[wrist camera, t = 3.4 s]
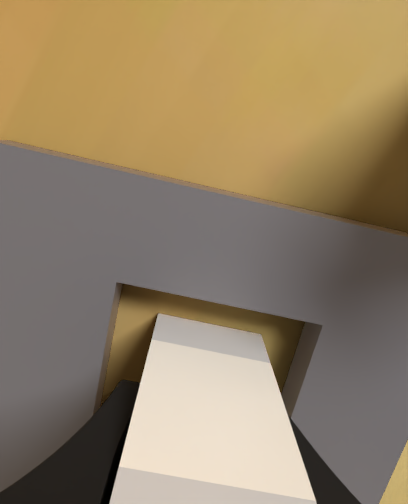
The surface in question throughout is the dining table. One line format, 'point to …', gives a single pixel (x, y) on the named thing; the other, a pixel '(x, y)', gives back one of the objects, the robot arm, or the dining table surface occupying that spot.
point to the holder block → (199, 287)
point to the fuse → (209, 423)
